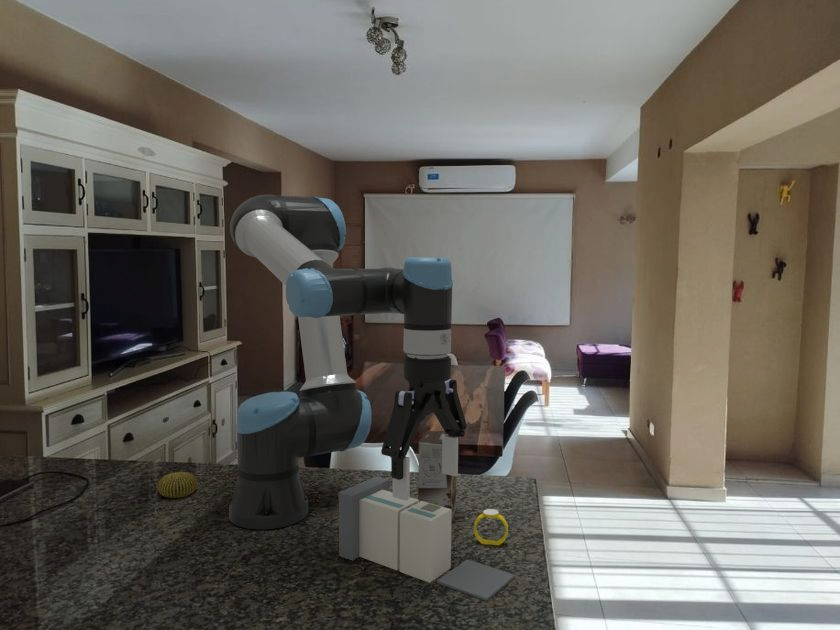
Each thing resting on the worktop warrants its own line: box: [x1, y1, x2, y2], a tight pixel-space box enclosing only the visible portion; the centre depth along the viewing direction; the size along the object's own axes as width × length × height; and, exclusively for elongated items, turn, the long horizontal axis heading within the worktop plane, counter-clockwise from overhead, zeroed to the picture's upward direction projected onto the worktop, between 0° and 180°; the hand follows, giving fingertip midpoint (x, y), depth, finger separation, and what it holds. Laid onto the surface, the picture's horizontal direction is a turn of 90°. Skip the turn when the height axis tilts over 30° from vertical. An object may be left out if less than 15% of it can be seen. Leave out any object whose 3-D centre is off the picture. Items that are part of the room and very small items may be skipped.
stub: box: [399, 501, 452, 583], centre depth 108 cm, size 6×6×10 cm
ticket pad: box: [337, 475, 419, 571], centre depth 113 cm, size 12×10×11 cm
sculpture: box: [156, 471, 198, 499], centre depth 140 cm, size 8×4×8 cm
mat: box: [436, 559, 516, 602], centre depth 105 cm, size 9×9×1 cm
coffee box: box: [417, 430, 458, 522], centre depth 129 cm, size 9×6×16 cm
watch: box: [473, 508, 509, 546], centre depth 118 cm, size 6×3×6 cm, turn 80°
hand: (426, 485), depth 107 cm, fingers open, 13 cm apart
